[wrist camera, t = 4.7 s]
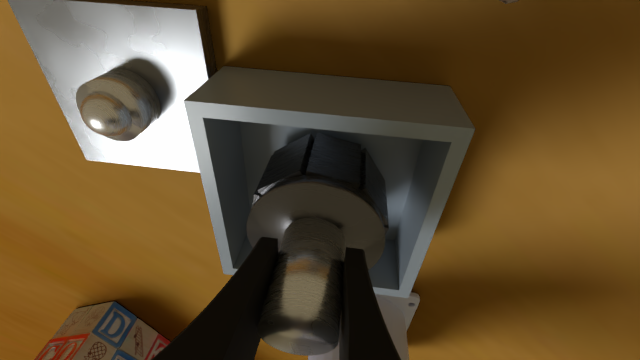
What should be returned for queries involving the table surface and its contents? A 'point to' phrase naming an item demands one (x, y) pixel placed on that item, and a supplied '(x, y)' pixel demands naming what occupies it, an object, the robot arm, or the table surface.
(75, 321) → the stack of blocks
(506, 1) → the dark brown handled cylinder
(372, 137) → the bin
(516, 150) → the table surface
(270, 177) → the dark grey stepped cylinder
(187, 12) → the stud mount
